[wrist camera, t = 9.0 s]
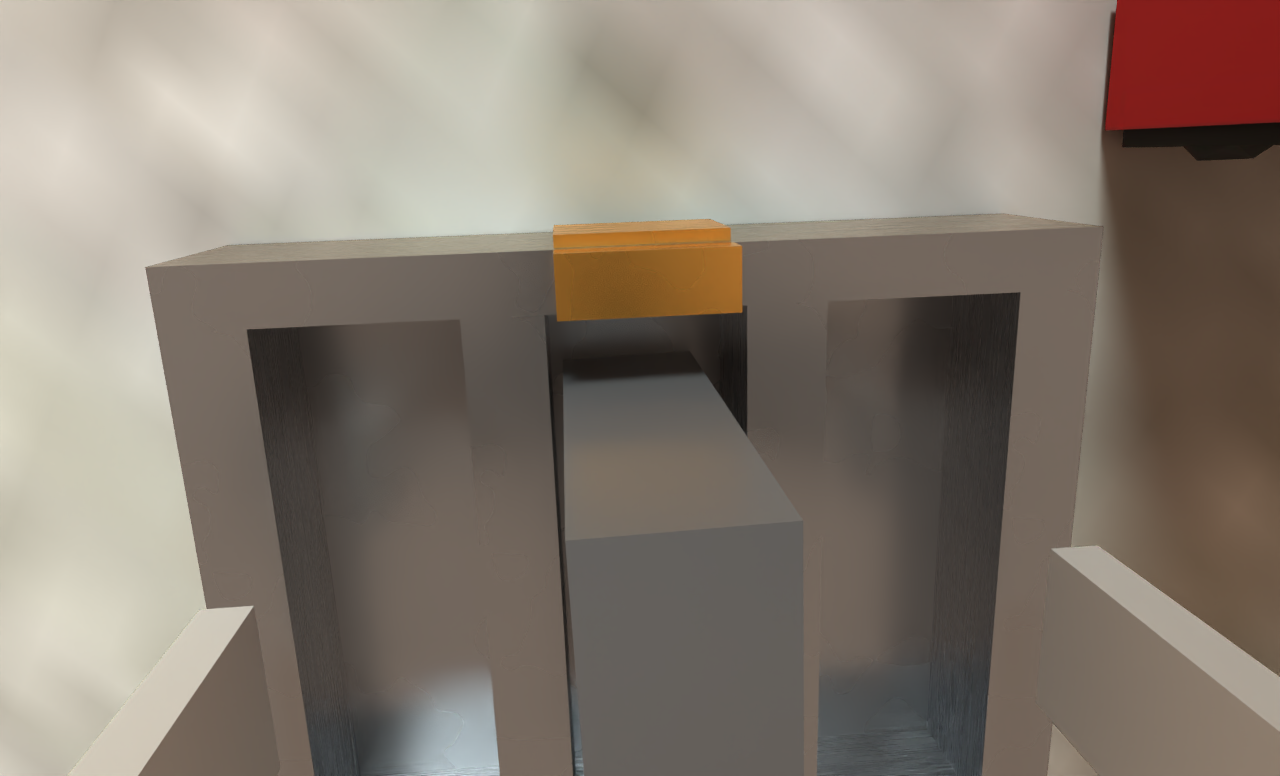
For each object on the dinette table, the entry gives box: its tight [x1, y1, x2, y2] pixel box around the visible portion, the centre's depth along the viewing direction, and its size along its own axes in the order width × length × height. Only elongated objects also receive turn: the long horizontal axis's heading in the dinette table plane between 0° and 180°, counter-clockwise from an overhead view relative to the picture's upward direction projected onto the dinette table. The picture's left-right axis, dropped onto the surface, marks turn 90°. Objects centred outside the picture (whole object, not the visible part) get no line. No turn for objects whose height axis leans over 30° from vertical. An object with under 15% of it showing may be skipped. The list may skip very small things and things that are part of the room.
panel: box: [563, 351, 804, 776], centre depth 14 cm, size 8×2×8 cm, turn 3°
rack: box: [145, 214, 1103, 776], centre depth 16 cm, size 12×15×4 cm
